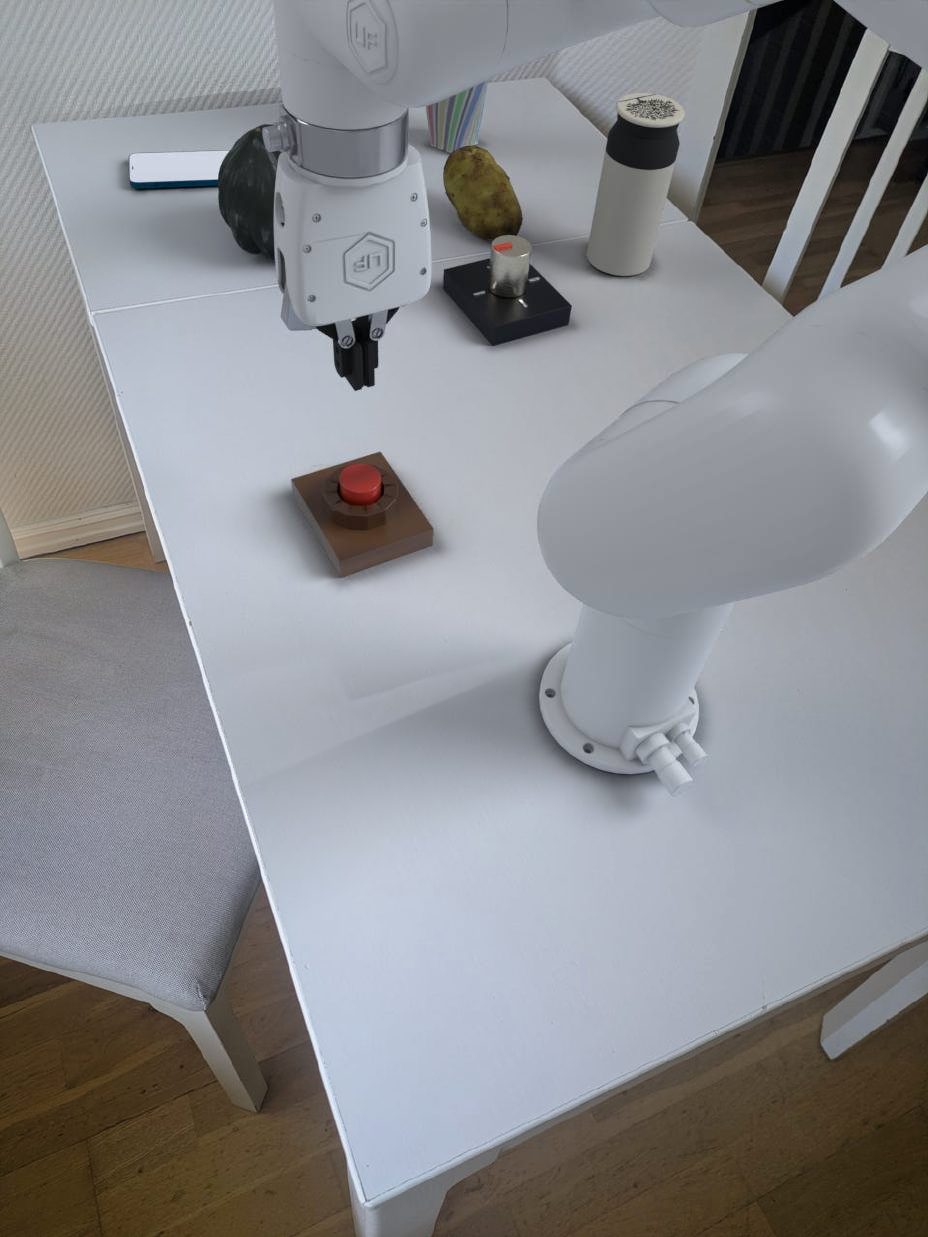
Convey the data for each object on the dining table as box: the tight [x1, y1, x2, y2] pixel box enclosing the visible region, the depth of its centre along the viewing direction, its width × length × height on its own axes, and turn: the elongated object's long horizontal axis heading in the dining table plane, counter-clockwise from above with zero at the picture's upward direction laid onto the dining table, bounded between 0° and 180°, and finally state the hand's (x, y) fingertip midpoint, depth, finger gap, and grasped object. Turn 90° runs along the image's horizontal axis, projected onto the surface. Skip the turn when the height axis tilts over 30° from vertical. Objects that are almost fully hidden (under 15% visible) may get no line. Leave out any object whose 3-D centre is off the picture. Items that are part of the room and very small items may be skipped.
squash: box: [217, 123, 283, 261], centre depth 105 cm, size 14×15×15 cm
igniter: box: [290, 451, 435, 578], centre depth 81 cm, size 11×9×4 cm
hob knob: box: [488, 235, 533, 298], centre depth 101 cm, size 4×4×5 cm
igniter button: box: [339, 464, 381, 506], centre depth 79 cm, size 4×4×2 cm
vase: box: [425, 79, 490, 154], centre depth 116 cm, size 14×14×30 cm
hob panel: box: [442, 257, 573, 347], centre depth 104 cm, size 12×10×3 cm
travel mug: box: [586, 92, 685, 277], centre depth 105 cm, size 8×8×18 cm
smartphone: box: [128, 149, 231, 189], centre depth 118 cm, size 8×1×16 cm
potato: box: [442, 145, 524, 241], centre depth 112 cm, size 8×13×8 cm, turn 15°
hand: (356, 377), depth 70 cm, fingers closed
